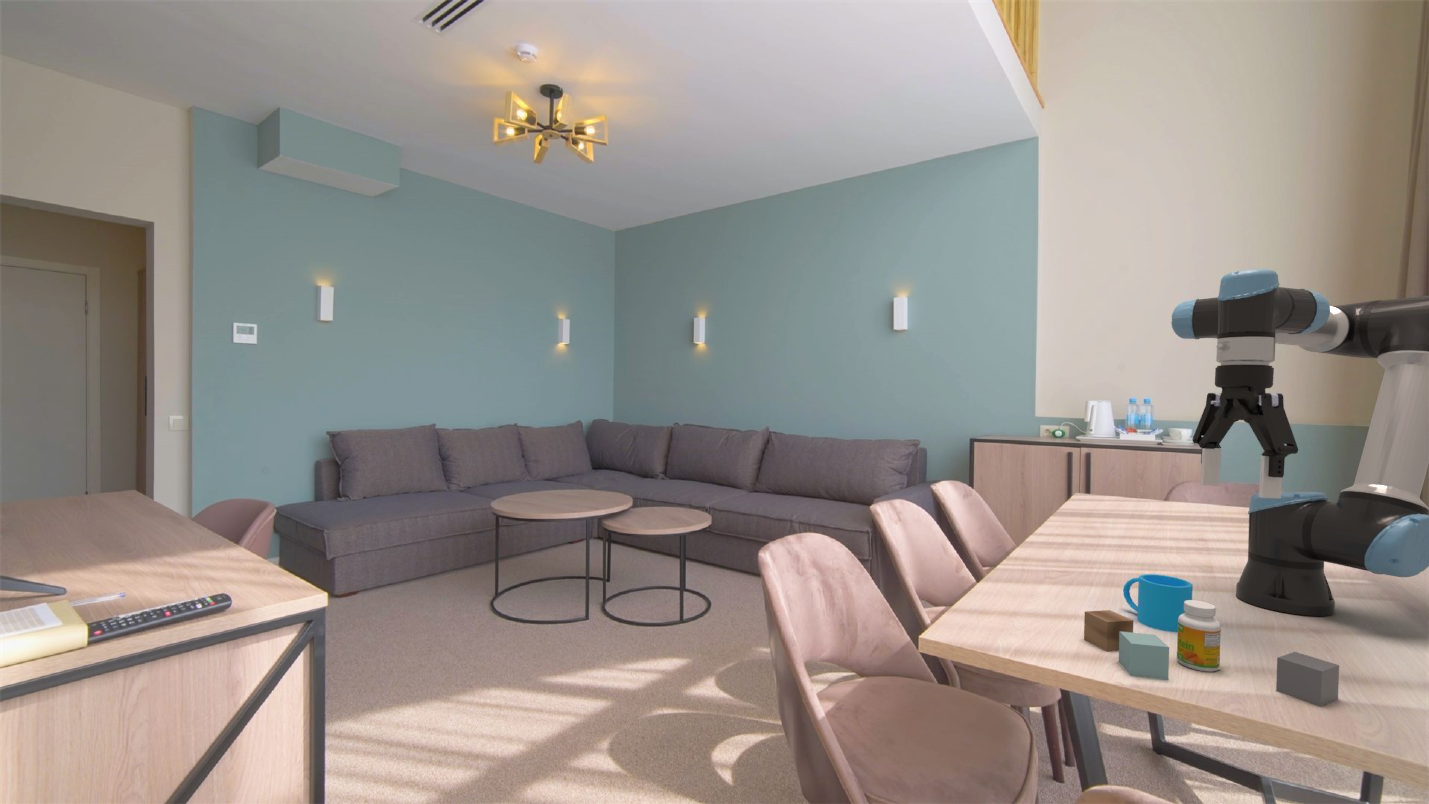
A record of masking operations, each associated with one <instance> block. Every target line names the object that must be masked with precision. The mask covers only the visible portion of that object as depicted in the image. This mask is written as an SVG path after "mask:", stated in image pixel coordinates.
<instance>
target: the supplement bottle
mask: <svg viewBox="0 0 1429 804" xmlns="http://www.w3.org/2000/svg"><path fill="white" fill-rule="evenodd" d="M1216 610H1217V609H1216V606H1215V605H1214V604H1212V603H1209V602H1206V601H1203V600H1202V601H1201V600H1194V599H1192V600H1186V601H1184V611H1185V612H1186V613H1184V614H1181V615H1180V616H1179V618H1178V632H1177V641H1176V642H1177V646H1176V659H1177V662H1178V663H1179V664H1181V665H1183V666H1184V667H1186V668H1190V669H1193V670H1196V671H1200V672H1205V673H1206V672H1207V673H1209V672H1210V673H1212V672H1216V671H1218V670H1220V665H1221V664H1220V660H1221V659H1220V658H1221V635H1222V634H1221V632H1222V631H1221V630H1222V628H1221V626H1222V625H1221V623H1220V622H1219V621H1218V620H1217V619H1216V618H1214V617H1215V616H1216Z"/></svg>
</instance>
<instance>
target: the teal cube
mask: <svg viewBox="0 0 1429 804" xmlns="http://www.w3.org/2000/svg"><path fill="white" fill-rule="evenodd" d="M1118 663H1119V664H1120V665H1121V667H1122V668H1123V669H1124V670H1125V671H1126V672H1127V673H1128V674H1129V675H1130V676H1131V677H1140V678H1151V679H1157V680H1158V679H1159V680H1166V681H1168V680H1169V675H1170V674H1169V673H1170V672H1169V670H1170V669H1169V668H1170V667H1169V666H1170V647H1169V645H1168V644H1166V643H1165V642H1164V641H1163V640H1162V639H1161V638H1160V637H1158V635H1156V634H1151V633H1140V632H1133V633H1131V632H1121V631H1119V651H1118Z"/></svg>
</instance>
